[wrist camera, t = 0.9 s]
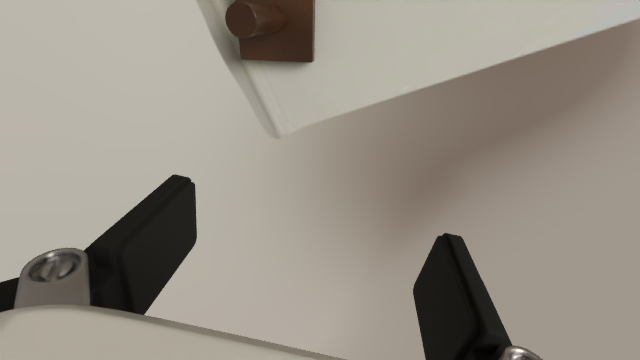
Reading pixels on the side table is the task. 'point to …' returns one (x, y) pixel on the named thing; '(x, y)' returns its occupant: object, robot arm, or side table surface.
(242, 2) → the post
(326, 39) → the side table surface
